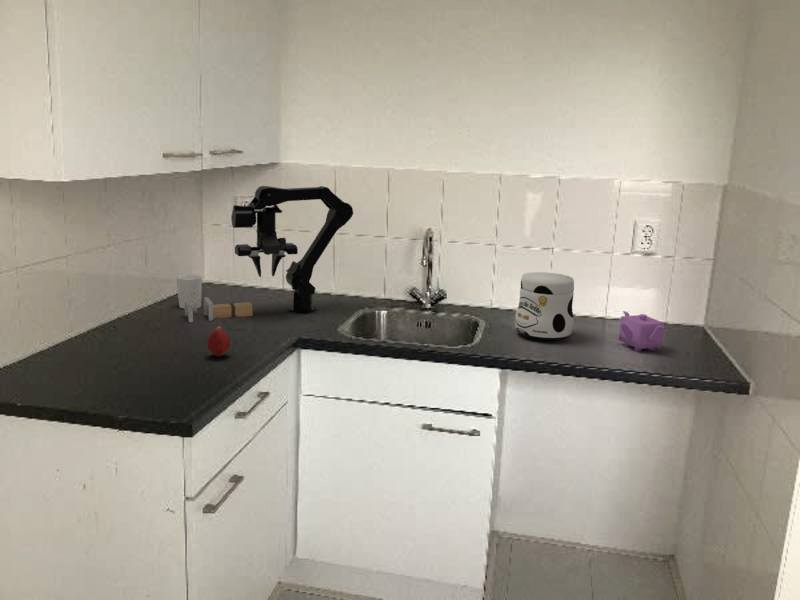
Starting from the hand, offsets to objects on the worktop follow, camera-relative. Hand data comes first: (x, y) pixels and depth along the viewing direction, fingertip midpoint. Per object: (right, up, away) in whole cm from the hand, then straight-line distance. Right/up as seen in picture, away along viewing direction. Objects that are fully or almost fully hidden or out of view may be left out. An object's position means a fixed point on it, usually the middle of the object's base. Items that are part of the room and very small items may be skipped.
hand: (266, 276), depth 226 cm
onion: (-5, -22, -41) cm, 47 cm away
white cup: (-26, -10, +7) cm, 29 cm away
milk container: (+85, -18, -11) cm, 88 cm away
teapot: (+111, -21, -19) cm, 114 cm away
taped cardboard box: (-10, -12, -2) cm, 16 cm away
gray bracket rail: (-20, -13, -5) cm, 24 cm away
